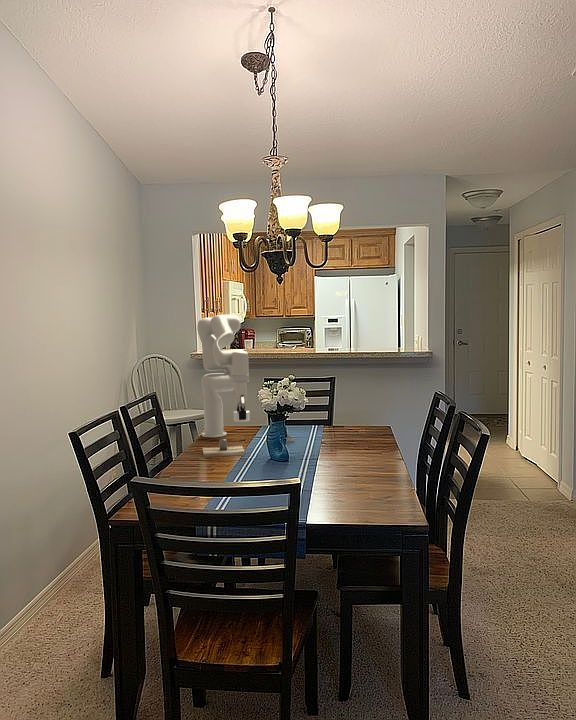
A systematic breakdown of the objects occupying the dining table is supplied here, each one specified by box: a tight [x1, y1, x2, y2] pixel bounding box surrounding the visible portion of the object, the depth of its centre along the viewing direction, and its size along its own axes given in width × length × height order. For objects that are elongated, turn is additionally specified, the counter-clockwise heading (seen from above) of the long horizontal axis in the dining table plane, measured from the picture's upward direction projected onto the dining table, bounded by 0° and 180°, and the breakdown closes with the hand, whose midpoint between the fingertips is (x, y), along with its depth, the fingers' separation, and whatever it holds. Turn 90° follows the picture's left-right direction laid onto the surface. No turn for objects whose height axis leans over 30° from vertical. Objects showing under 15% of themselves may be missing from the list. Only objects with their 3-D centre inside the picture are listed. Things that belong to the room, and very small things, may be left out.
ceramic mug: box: [286, 432, 295, 443], centre depth 314 cm, size 11×8×8 cm
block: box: [202, 445, 246, 458], centre depth 293 cm, size 12×18×2 cm, turn 99°
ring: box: [233, 410, 251, 423], centre depth 293 cm, size 7×7×4 cm
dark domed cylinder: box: [218, 438, 228, 451], centre depth 293 cm, size 3×3×4 cm
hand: (241, 417), depth 293 cm, fingers closed on ring, 7 cm apart
